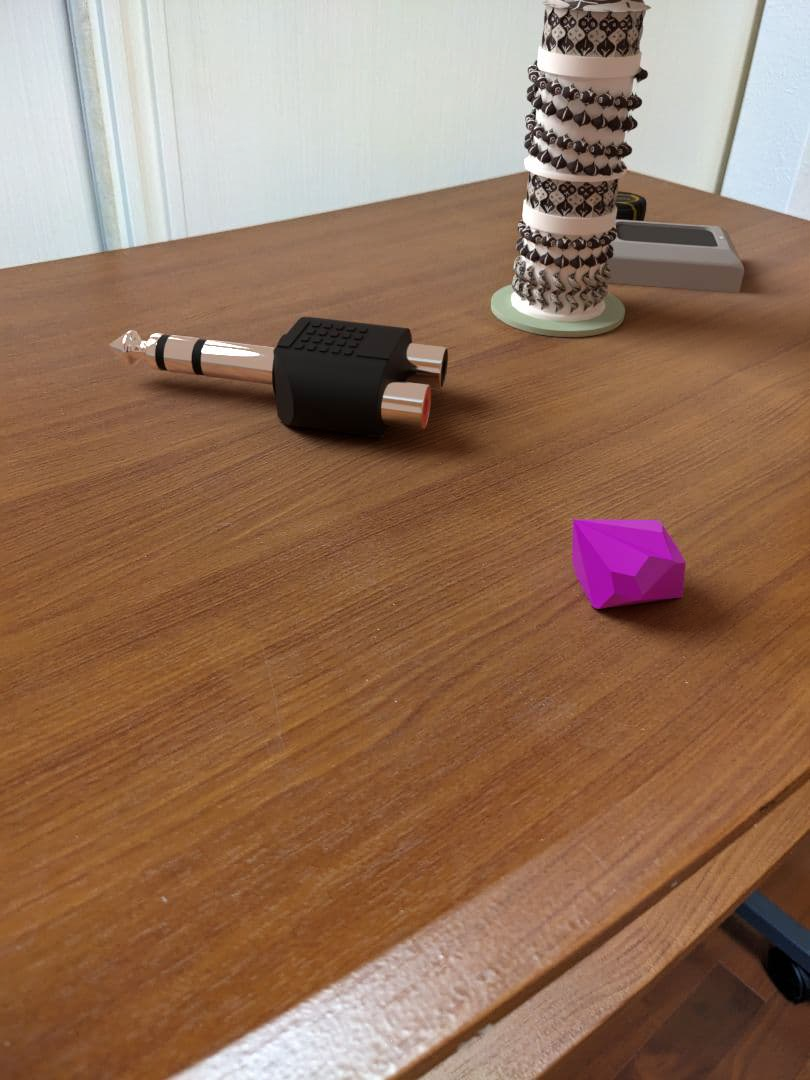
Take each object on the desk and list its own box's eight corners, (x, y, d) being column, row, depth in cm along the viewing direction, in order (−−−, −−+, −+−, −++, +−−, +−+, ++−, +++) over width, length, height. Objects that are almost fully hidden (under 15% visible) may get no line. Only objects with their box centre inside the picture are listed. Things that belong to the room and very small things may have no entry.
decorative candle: (537, 277, 88) (571, -28, 74) (626, 300, 84) (681, -19, 69) (487, 306, 82) (513, -21, 67) (580, 332, 78) (630, -10, 63)
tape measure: (637, 221, 105) (642, 187, 103) (646, 240, 100) (652, 205, 98) (577, 219, 106) (581, 185, 103) (583, 238, 100) (588, 203, 98)
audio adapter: (421, 385, 59) (64, 340, 63) (418, 457, 62) (78, 410, 66) (452, 320, 67) (136, 284, 72) (448, 386, 71) (146, 348, 75)
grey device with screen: (584, 213, 95) (733, 223, 94) (579, 248, 97) (724, 259, 96) (586, 243, 87) (748, 254, 86) (581, 281, 90) (739, 292, 88)
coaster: (652, 317, 83) (653, 310, 82) (557, 349, 77) (557, 342, 76) (556, 277, 90) (557, 271, 90) (463, 303, 84) (464, 297, 84)
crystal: (621, 636, 48) (636, 566, 45) (551, 581, 51) (561, 513, 49) (688, 602, 50) (707, 533, 48) (618, 552, 54) (631, 485, 51)
